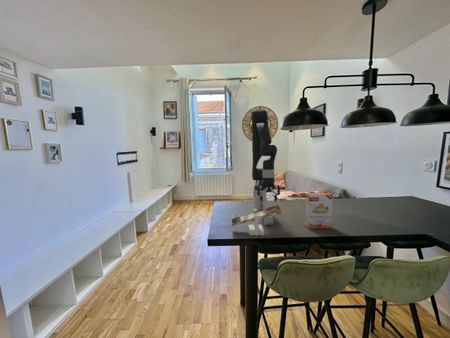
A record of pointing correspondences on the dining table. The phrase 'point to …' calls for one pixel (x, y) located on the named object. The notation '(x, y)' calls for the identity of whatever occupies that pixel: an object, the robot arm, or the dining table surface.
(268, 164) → the robot arm
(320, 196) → the cracker box
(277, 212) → the beam
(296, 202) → the dining table surface
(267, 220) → the block
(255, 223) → the pivot stand
